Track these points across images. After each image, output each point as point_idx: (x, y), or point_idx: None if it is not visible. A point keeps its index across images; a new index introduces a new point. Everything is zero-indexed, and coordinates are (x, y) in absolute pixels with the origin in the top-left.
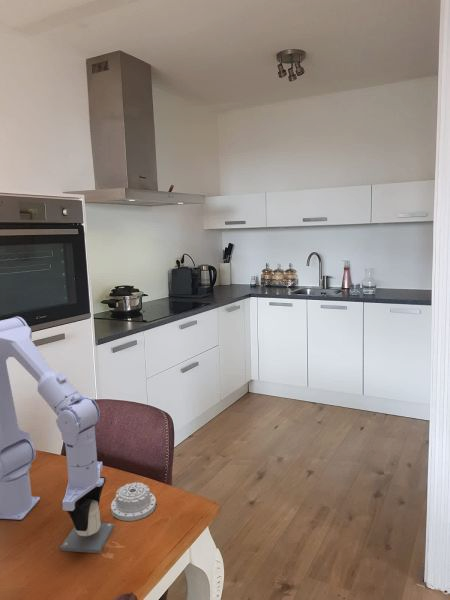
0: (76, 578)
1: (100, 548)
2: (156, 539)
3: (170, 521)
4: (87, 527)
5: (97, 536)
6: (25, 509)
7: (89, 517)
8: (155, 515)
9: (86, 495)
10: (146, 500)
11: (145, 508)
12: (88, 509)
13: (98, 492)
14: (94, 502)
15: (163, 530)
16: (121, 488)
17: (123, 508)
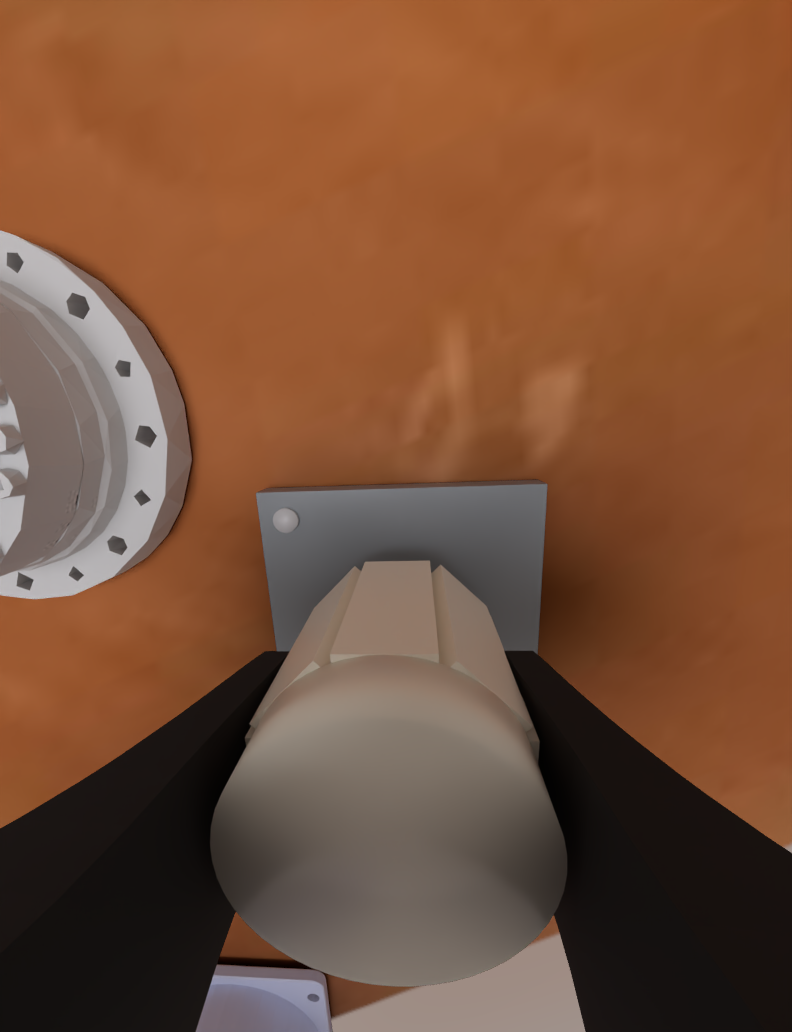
0: (767, 529)
1: (520, 483)
2: (339, 57)
3: (86, 4)
4: (510, 656)
5: (411, 553)
6: (259, 999)
7: (510, 712)
8: (59, 201)
9: (180, 993)
10: None
11: (17, 288)
12: (765, 918)
13: (59, 930)
14: (274, 796)
15: (216, 31)
16: None
17: (95, 468)
